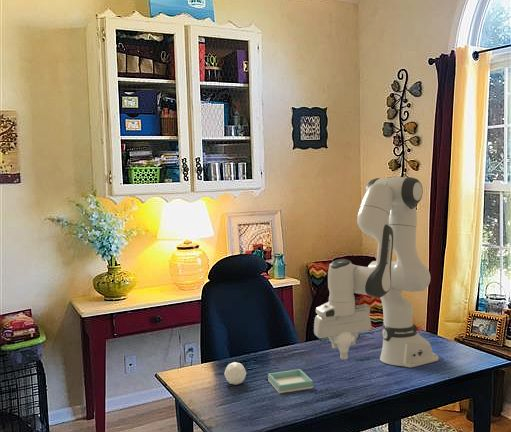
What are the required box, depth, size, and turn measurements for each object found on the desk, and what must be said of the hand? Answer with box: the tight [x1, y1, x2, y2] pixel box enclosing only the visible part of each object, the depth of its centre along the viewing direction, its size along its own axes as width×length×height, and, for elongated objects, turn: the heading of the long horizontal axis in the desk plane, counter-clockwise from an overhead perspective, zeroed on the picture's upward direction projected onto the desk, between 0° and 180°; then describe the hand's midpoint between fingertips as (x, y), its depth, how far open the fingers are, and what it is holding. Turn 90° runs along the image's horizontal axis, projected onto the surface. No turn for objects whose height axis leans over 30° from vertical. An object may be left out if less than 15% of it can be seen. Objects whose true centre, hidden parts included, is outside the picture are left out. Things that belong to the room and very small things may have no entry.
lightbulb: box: [333, 332, 353, 361], centre depth 199 cm, size 6×6×11 cm
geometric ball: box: [224, 361, 247, 386], centre depth 207 cm, size 8×8×8 cm
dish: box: [267, 368, 314, 394], centre depth 205 cm, size 12×12×3 cm
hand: (343, 346), depth 199 cm, fingers closed on lightbulb, 5 cm apart
